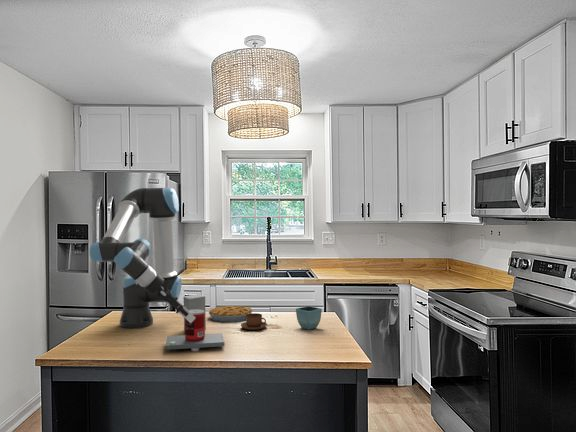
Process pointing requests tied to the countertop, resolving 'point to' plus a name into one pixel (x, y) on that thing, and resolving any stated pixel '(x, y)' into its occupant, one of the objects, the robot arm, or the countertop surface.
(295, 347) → the countertop surface
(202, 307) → the skincare box
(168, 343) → the plate
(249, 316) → the cup and saucer
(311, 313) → the flower pot
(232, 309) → the pie
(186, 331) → the canned food
